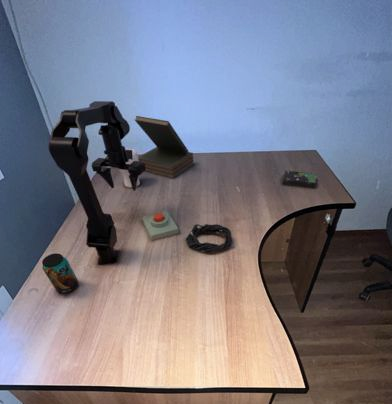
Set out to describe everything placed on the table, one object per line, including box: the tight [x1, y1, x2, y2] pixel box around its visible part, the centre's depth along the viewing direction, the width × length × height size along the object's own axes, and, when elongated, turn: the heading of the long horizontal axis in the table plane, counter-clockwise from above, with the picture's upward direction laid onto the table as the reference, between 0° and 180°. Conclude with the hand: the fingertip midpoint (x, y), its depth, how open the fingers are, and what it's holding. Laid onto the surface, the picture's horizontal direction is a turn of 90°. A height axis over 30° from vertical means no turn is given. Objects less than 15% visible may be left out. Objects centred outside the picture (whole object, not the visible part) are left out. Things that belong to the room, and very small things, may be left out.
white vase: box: [118, 148, 141, 188], centre depth 127 cm, size 11×11×15 cm
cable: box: [185, 223, 233, 254], centre depth 97 cm, size 17×14×4 cm
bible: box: [134, 115, 194, 179], centre depth 136 cm, size 23×20×25 cm
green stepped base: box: [141, 210, 180, 241], centre depth 105 cm, size 14×11×4 cm
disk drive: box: [281, 170, 317, 188], centre depth 128 cm, size 10×3×15 cm
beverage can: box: [41, 252, 80, 295], centre depth 81 cm, size 7×7×12 cm
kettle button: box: [153, 212, 164, 222], centre depth 103 cm, size 4×4×2 cm
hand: (123, 189), depth 101 cm, fingers open, 9 cm apart
